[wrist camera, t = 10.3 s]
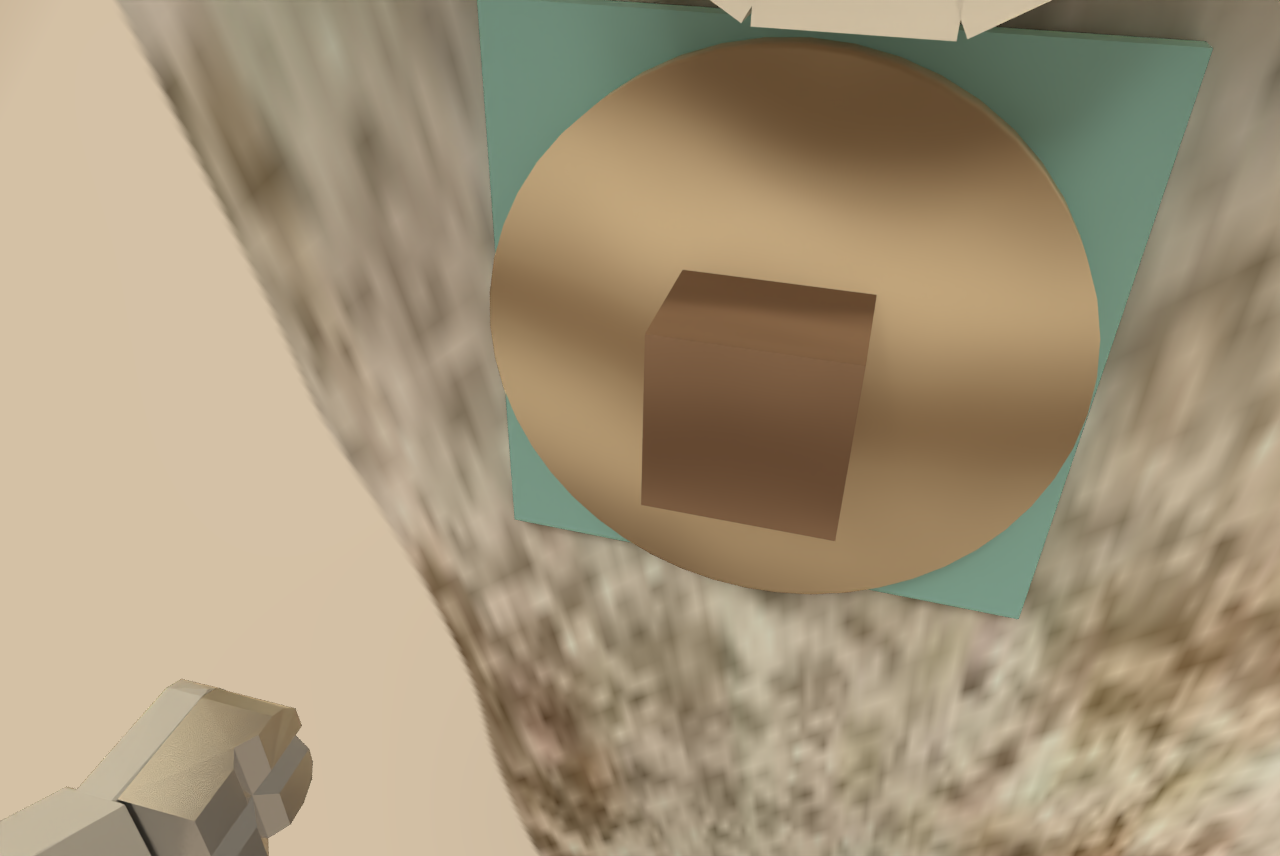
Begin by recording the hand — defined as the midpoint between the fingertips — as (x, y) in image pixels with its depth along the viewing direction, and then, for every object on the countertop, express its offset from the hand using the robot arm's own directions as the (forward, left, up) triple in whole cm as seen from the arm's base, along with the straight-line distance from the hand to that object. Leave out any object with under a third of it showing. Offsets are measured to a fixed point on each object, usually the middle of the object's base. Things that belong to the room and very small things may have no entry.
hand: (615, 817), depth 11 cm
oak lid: (0, 0, -13) cm, 13 cm away
